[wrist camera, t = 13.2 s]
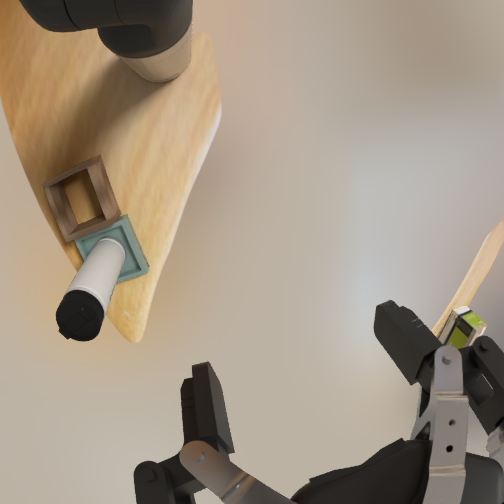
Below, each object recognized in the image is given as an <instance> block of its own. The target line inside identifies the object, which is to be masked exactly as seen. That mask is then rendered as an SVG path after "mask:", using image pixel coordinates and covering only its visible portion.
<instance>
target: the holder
mask: <svg viewBox="0 0 504 504" xmlns="http://www.w3.org/2000/svg"><path fill="white" fill-rule="evenodd" d="M85 168H87V169H88V172H89V175H90V178H91V181H92V184H93V187H94V189H95V192H96V195H97V197H98V200H99V203H100V205H101V208H102V210H103V213H104V214H103V215H101V216H98V217H96V218H93V219H91V220H88V221H86V222H84V223H81V224H79V225H78V223H77V220H76V218H75V216H74V213H73V211H72V208H71V206H70V203H69V201H68V198H67V195H66V193H65V190H64V187H63V185H62V182H61V180H63V179H65V178H67V177H69V176H71V175H73V174H75V173H77V172H79V171H81V170H83V169H85ZM42 185H43V188H44V191H45V193H46V196H47V199H48V201H49V204H50V206H51V209H52V211H53V214H54V216H55V219H56V221H57V223H58V226H59V228H60V230H61V232H62V234H63V237H64V239H65V241H66V243H67V242H70V241H72V240H75V239H77V238H79V237H82V236H84V235H87V234H89V233H92V232H94V231H97V230H99V229H102V228H105V227H107V226H110V225H112V224H114V223H115V222H116V220H117V219H118V218H119V216H120V215H121V211H120V209H119V206H118V204H117V201H116V198H115V196H114V193H113V190H112V187H111V185H110V182H109V179H108V176H107V173H106V170H105V167H104V164H103V161H102V158H101V155H99V156H97V157H94V158H92V159H90V160H87V161H85V162H83V163H81V164H79V165H77V166H75V167H73V168H71V169H69V170H67V171H65V172H63V173H61V174H59V175H57V176H55V177H53V178H52V179H50V180H48V181H46V182H44V183H43V184H42Z"/></svg>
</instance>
